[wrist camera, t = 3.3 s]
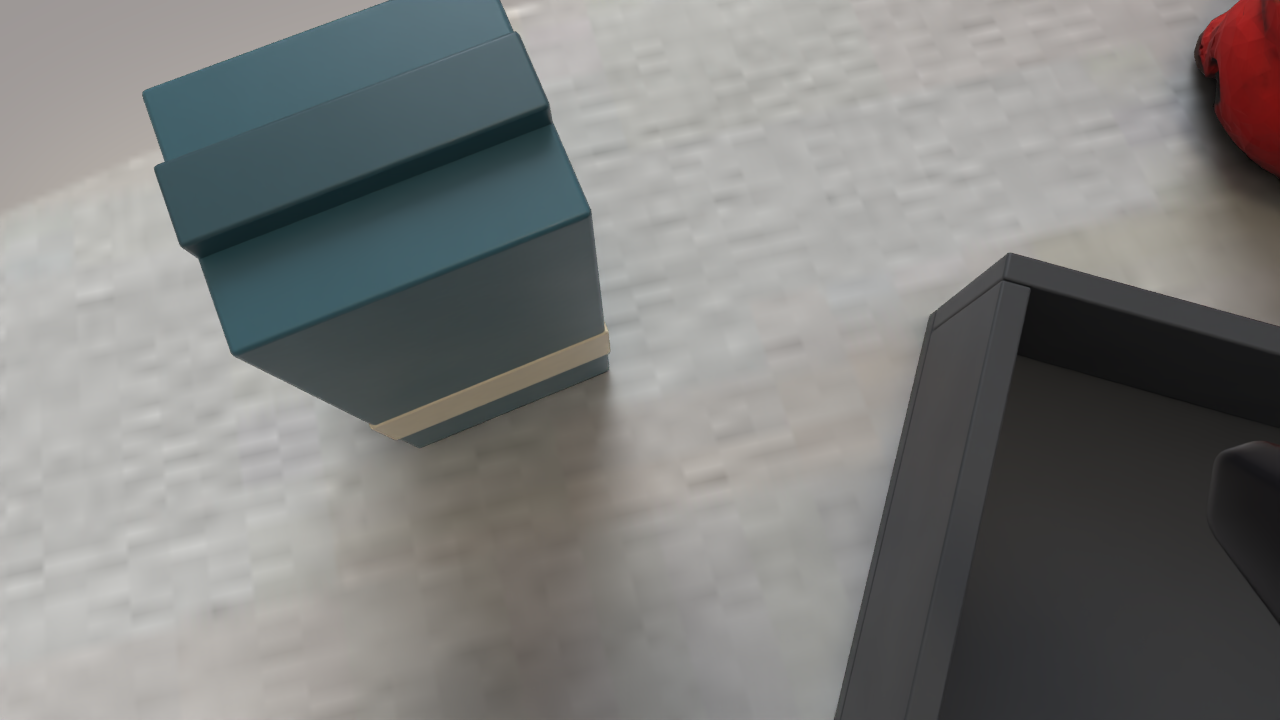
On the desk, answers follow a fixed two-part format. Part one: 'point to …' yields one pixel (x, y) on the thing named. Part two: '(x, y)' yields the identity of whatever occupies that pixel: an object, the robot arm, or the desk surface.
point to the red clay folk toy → (1246, 77)
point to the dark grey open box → (1068, 512)
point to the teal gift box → (388, 216)
